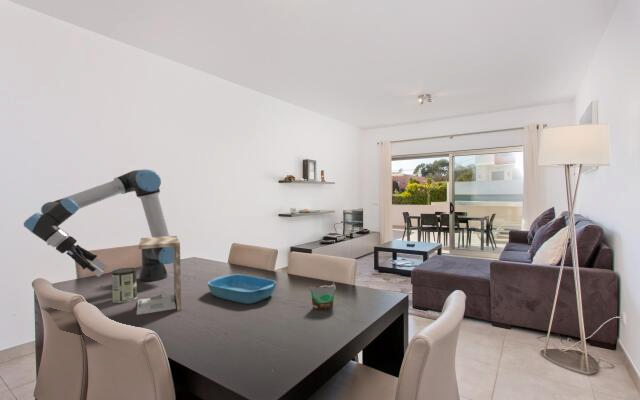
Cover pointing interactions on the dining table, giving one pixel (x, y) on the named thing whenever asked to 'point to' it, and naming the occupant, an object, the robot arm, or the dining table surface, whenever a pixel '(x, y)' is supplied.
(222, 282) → the casserole dish
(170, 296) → the seat plate
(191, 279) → the dining table surface
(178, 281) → the shelf hood
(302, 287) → the dining table surface
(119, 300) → the coffee can
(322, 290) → the food container
